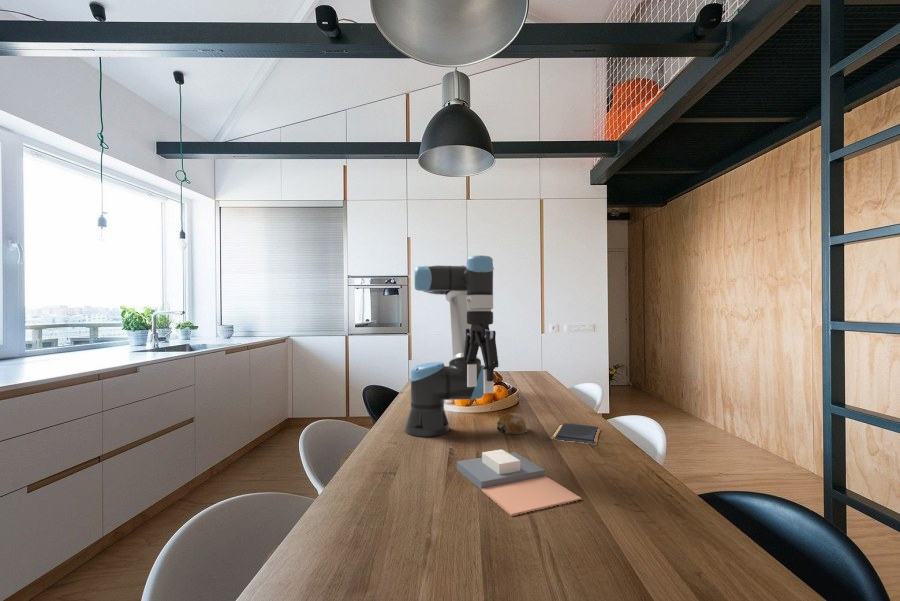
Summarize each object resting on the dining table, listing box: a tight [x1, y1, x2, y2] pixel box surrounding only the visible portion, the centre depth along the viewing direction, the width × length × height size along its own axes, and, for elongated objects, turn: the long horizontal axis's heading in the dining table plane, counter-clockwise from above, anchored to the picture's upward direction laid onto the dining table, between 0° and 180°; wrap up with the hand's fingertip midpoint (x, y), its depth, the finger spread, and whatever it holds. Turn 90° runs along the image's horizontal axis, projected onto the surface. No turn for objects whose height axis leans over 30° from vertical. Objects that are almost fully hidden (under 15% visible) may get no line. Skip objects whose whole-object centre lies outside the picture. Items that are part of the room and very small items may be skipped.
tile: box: [481, 448, 520, 474], centre depth 106 cm, size 9×6×2 cm, turn 23°
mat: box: [481, 475, 582, 517], centre depth 93 cm, size 13×18×1 cm
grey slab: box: [456, 451, 546, 491], centre depth 106 cm, size 14×18×2 cm
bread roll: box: [496, 412, 528, 436], centre depth 144 cm, size 10×10×8 cm
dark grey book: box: [551, 422, 599, 444], centre depth 140 cm, size 20×2×15 cm
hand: (479, 389), depth 117 cm, fingers open, 9 cm apart
